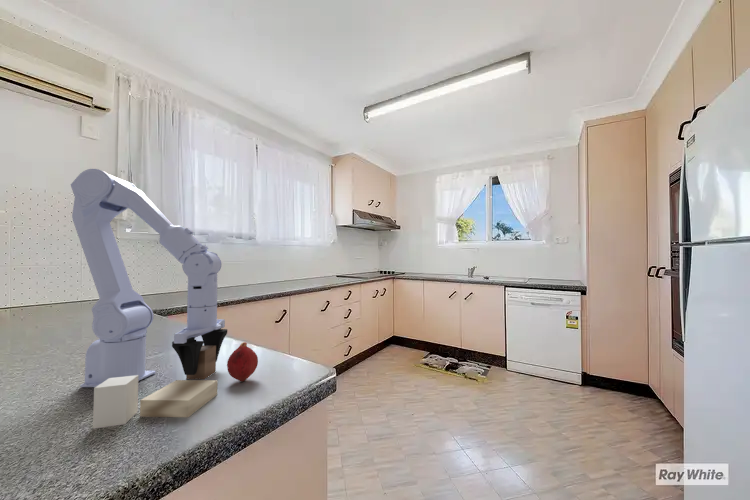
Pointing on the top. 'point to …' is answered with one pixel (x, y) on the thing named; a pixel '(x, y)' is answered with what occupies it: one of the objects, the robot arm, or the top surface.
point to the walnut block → (205, 362)
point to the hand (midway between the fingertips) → (201, 367)
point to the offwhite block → (115, 401)
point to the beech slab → (178, 398)
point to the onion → (242, 362)
